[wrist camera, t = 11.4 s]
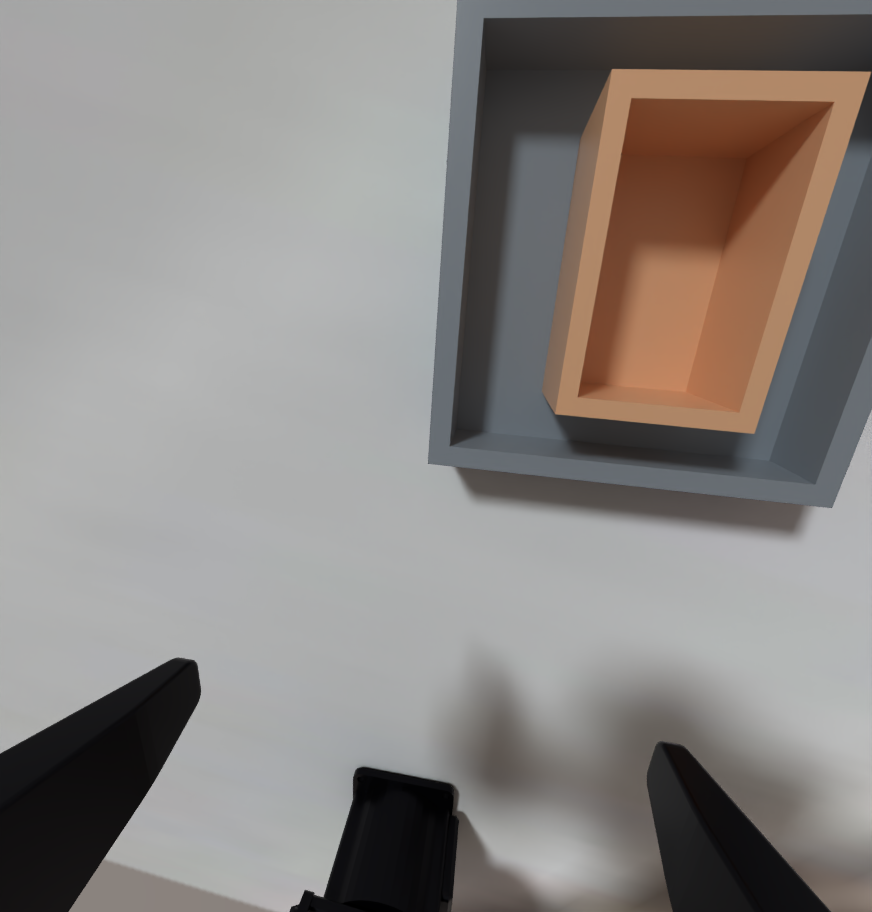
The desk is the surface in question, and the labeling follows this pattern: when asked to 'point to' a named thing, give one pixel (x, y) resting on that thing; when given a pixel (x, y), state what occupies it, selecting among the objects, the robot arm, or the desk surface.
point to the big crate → (543, 235)
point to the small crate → (692, 240)
